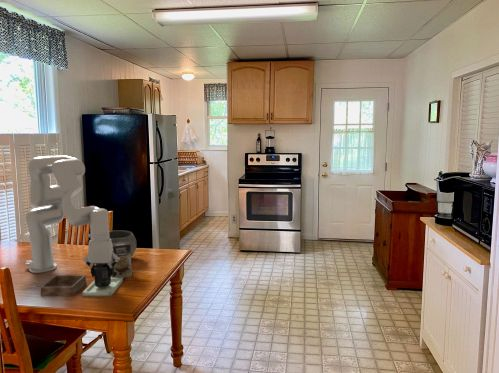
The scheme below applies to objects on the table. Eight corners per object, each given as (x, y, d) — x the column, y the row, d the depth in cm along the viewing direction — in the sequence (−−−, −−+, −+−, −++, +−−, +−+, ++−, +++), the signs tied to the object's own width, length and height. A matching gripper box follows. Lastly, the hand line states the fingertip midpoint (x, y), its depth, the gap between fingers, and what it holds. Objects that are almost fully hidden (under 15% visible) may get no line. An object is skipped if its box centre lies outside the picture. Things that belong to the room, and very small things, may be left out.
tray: (82, 296, 163) (82, 292, 163) (97, 281, 179) (96, 277, 179) (110, 296, 163) (110, 292, 163) (122, 281, 179) (122, 277, 179)
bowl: (111, 270, 192) (110, 242, 190) (89, 262, 205) (87, 235, 202) (144, 259, 208) (143, 233, 206) (122, 252, 221) (120, 227, 218)
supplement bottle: (112, 281, 174) (111, 255, 173) (109, 287, 168) (107, 261, 166) (97, 281, 174) (95, 256, 172) (92, 288, 167) (91, 261, 165)
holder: (40, 296, 163) (40, 287, 162) (56, 283, 177) (56, 275, 176) (72, 296, 163) (72, 287, 163) (86, 283, 177) (85, 275, 176)
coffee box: (112, 279, 181) (110, 246, 178) (110, 275, 186) (108, 243, 184) (132, 276, 185) (130, 244, 183) (129, 272, 191) (128, 240, 188)
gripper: (76, 239, 164) (79, 279, 166) (117, 239, 164) (119, 279, 166) (84, 234, 171) (86, 272, 174) (122, 234, 171) (124, 272, 174)
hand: (102, 275), depth 170 cm, fingers closed on supplement bottle, 6 cm apart
